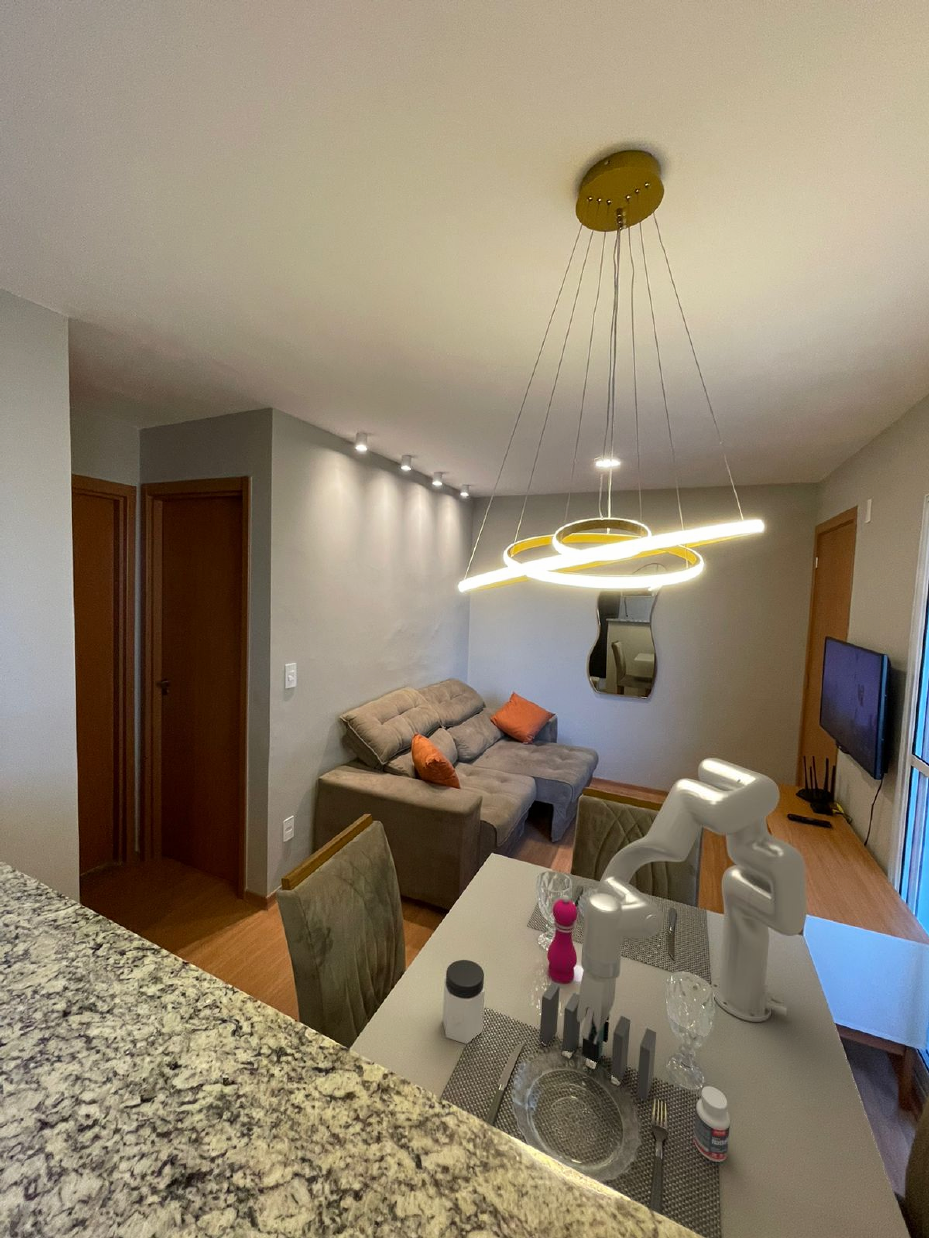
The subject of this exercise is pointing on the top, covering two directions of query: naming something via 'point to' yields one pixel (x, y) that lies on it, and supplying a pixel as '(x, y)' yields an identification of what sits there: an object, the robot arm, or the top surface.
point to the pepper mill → (563, 942)
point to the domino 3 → (599, 1039)
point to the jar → (463, 1001)
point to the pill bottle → (712, 1125)
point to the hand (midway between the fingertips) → (595, 1046)
